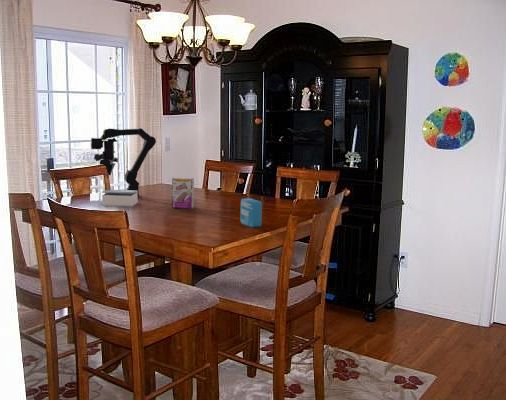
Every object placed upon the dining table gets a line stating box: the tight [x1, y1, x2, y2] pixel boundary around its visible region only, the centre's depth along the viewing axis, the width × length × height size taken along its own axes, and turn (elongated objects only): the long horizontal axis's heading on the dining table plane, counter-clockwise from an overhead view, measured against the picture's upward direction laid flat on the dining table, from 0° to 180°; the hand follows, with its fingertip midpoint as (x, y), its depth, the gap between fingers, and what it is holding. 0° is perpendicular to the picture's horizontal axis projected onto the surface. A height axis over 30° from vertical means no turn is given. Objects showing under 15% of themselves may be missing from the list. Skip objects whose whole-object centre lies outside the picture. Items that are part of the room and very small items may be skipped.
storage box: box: [101, 192, 139, 208], centre depth 294 cm, size 14×16×6 cm
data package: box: [239, 197, 263, 228], centre depth 247 cm, size 12×4×12 cm, turn 31°
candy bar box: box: [171, 176, 195, 210], centre depth 287 cm, size 11×5×16 cm, turn 84°
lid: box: [101, 189, 138, 194], centre depth 294 cm, size 14×16×1 cm
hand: (109, 175), depth 318 cm, fingers closed
